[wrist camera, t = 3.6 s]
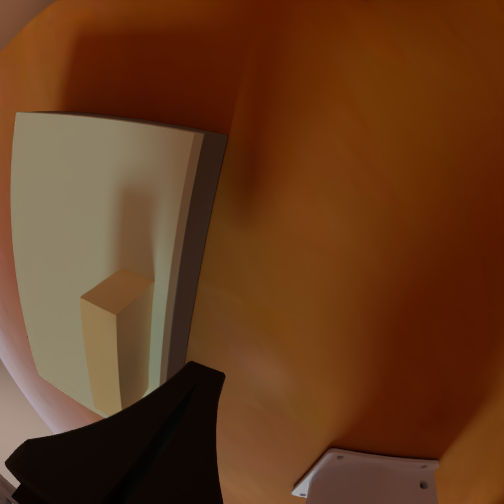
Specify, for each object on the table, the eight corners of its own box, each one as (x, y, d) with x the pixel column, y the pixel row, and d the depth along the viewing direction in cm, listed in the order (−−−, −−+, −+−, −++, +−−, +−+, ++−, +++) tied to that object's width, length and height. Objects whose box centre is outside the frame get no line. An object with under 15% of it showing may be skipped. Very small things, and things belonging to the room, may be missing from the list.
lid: (204, 133, 9) (151, 132, 6) (162, 435, 16) (139, 474, 13) (28, 111, 11) (-26, 115, 8) (45, 368, 17) (17, 395, 14)
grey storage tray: (228, 135, 12) (205, 133, 9) (178, 407, 18) (163, 434, 16) (64, 111, 13) (30, 111, 11) (66, 349, 19) (46, 368, 17)
